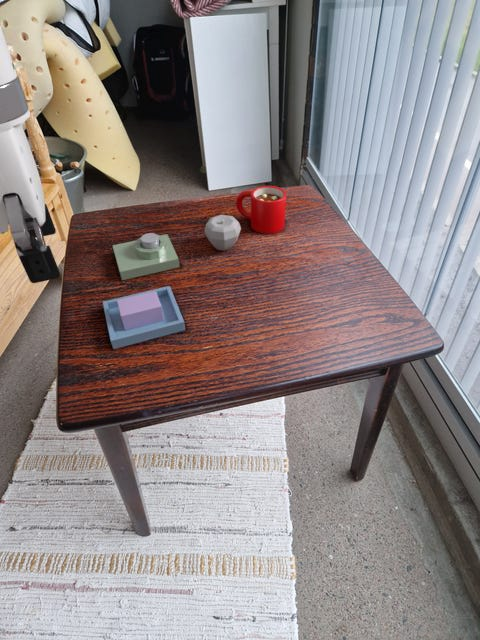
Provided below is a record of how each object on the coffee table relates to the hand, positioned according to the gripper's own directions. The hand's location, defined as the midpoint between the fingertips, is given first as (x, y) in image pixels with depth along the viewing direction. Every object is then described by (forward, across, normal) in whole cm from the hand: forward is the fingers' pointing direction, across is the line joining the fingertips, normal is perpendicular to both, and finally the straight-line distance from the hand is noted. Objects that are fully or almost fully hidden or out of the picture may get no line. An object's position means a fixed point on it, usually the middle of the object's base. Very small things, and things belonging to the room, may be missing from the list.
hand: (44, 255), depth 51 cm
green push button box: (+23, -28, +14) cm, 39 cm away
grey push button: (+20, -28, +15) cm, 38 cm away
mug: (+24, -33, +42) cm, 58 cm away
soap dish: (+23, -10, +10) cm, 27 cm away
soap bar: (+23, -10, +10) cm, 27 cm away
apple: (+24, -27, +31) cm, 47 cm away
